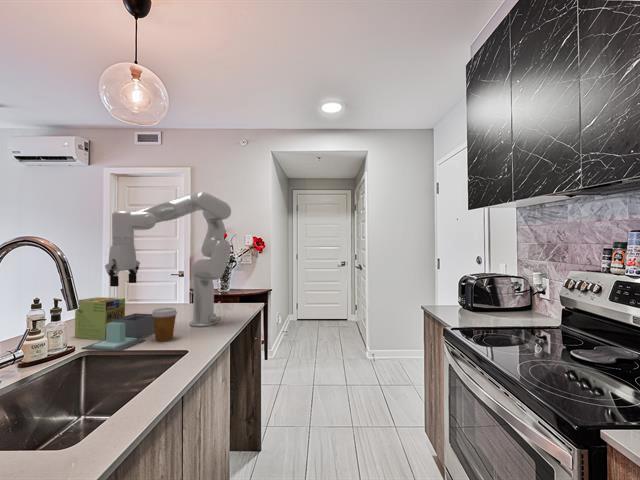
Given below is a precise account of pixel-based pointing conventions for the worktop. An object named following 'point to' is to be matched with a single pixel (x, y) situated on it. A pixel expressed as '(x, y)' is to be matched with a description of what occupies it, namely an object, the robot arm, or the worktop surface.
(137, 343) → the mat
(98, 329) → the protein box
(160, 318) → the disposable coffee cup
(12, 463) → the worktop surface
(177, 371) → the worktop surface
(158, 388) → the worktop surface
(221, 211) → the robot arm
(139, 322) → the box
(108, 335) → the lid
